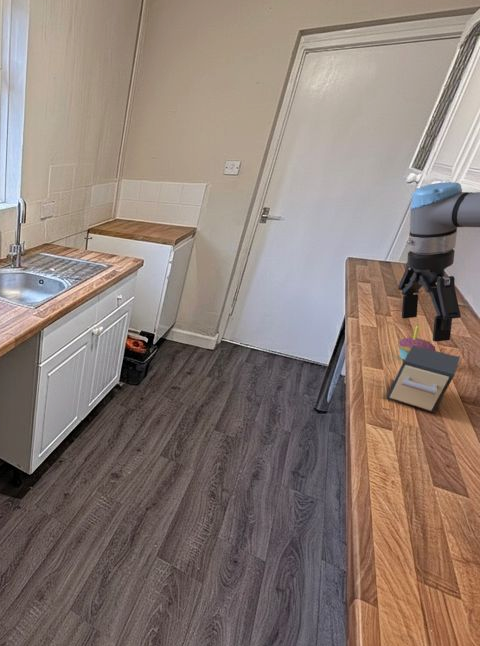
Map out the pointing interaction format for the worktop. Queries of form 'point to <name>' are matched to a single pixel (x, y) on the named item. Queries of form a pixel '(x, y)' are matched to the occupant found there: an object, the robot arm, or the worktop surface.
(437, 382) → the drawer
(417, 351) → the cabinet
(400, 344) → the cupcake
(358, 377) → the worktop surface
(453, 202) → the robot arm
